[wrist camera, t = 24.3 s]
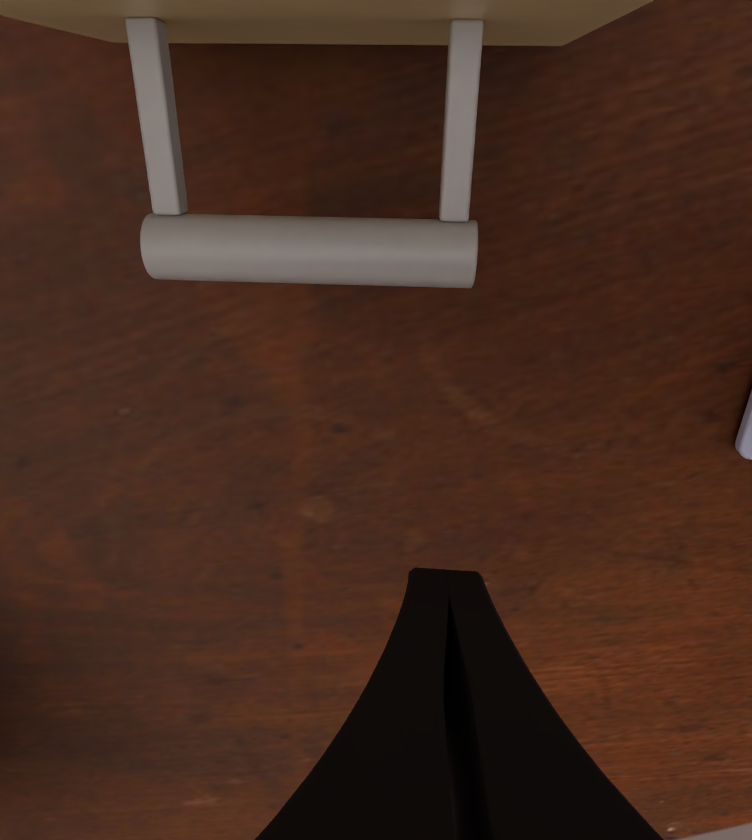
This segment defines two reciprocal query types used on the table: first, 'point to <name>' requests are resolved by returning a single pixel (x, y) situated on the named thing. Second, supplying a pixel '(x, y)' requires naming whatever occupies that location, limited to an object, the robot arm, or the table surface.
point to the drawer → (315, 24)
